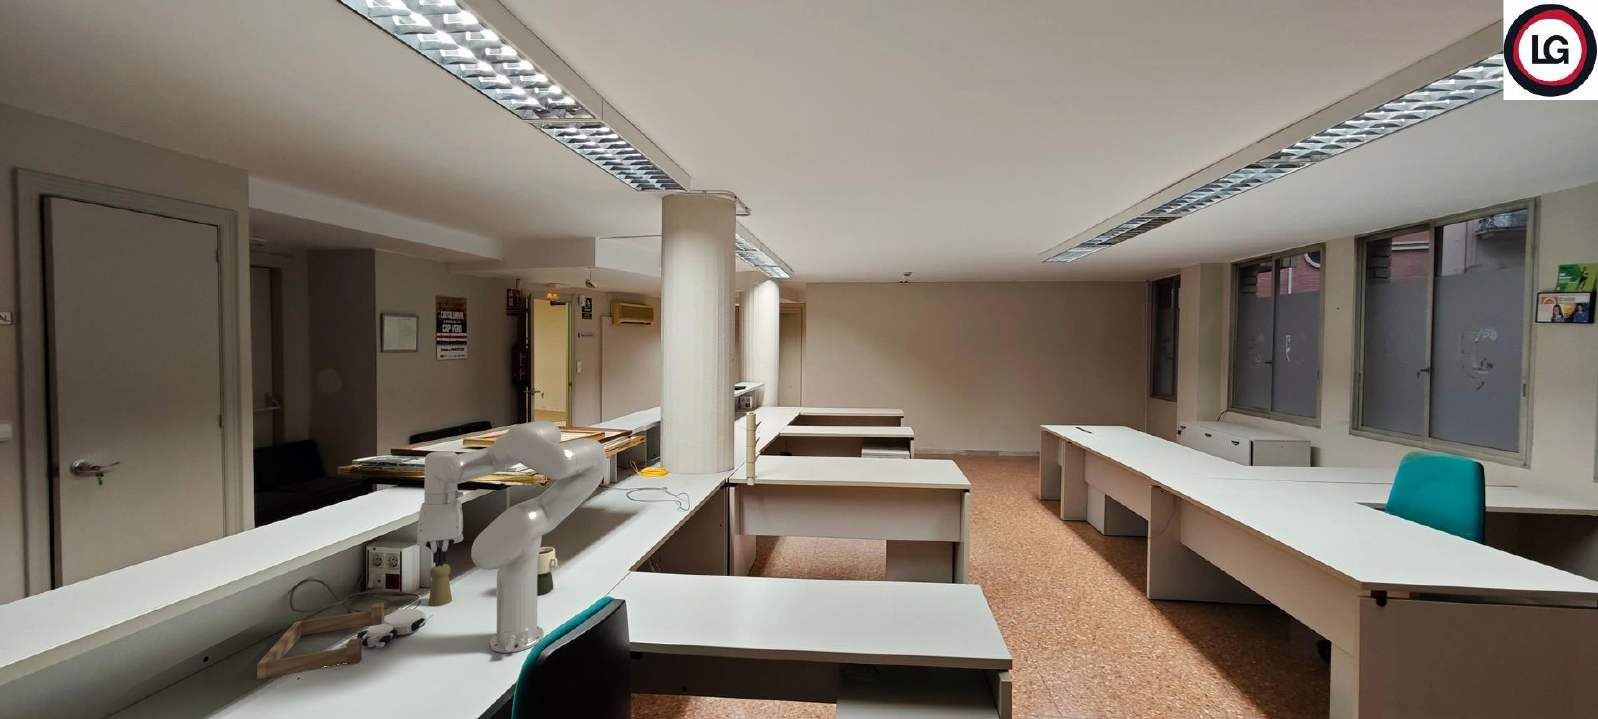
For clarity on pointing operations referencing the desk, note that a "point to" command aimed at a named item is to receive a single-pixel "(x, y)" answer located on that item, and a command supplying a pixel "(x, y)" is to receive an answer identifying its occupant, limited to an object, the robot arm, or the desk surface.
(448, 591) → the cork
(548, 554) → the character mug
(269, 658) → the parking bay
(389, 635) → the robot toy
